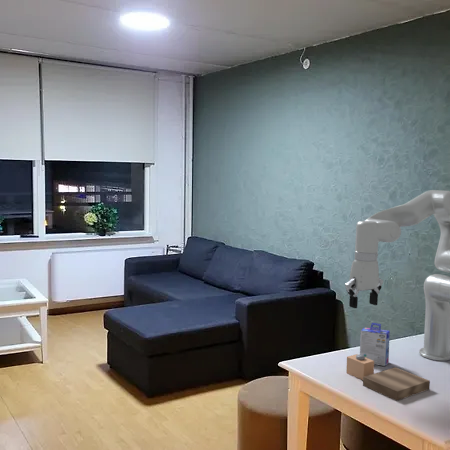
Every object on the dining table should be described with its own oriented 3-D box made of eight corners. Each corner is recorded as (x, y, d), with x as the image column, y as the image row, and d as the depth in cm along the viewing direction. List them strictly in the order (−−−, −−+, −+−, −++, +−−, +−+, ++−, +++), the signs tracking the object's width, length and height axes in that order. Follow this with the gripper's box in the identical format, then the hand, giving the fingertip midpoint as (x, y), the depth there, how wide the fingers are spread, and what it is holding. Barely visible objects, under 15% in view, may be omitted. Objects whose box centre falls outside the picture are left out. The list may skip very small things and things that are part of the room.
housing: (356, 370, 196) (356, 351, 195) (373, 377, 189) (374, 358, 188) (346, 373, 193) (346, 354, 192) (363, 380, 186) (364, 360, 186)
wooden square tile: (395, 375, 191) (395, 367, 190) (429, 389, 179) (429, 380, 179) (362, 385, 182) (363, 376, 182) (396, 400, 170) (397, 391, 170)
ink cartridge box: (389, 362, 204) (390, 324, 202) (386, 366, 199) (387, 328, 197) (362, 357, 208) (364, 320, 207) (359, 362, 204) (360, 324, 202)
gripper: (375, 254, 195) (372, 301, 196) (339, 256, 185) (337, 306, 187) (391, 257, 188) (389, 305, 190) (355, 260, 179) (353, 311, 181)
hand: (363, 305), depth 189 cm, fingers open, 9 cm apart
